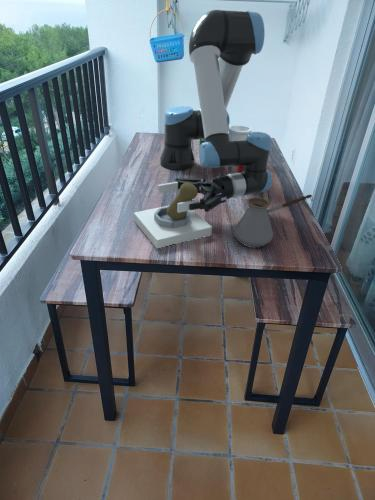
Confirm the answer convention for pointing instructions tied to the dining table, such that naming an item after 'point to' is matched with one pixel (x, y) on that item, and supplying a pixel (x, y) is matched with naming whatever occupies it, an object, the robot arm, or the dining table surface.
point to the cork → (182, 200)
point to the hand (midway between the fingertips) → (167, 198)
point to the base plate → (169, 233)
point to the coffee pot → (258, 222)
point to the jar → (238, 133)
